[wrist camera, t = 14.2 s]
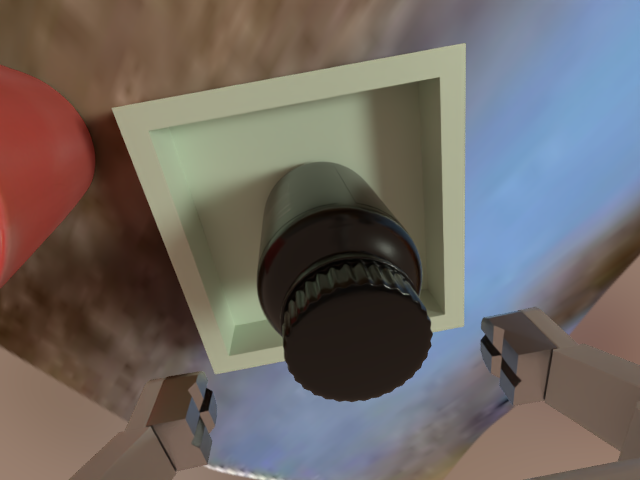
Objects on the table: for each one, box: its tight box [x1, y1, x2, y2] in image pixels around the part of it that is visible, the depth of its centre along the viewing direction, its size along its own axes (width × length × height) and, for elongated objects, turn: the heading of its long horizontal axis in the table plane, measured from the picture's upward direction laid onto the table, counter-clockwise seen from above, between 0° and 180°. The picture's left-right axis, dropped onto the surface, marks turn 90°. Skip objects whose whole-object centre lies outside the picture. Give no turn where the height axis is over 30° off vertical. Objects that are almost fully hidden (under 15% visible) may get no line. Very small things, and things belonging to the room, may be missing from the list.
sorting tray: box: [112, 43, 466, 374], centre depth 21 cm, size 16×16×4 cm
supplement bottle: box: [257, 162, 433, 402], centre depth 17 cm, size 7×7×12 cm
